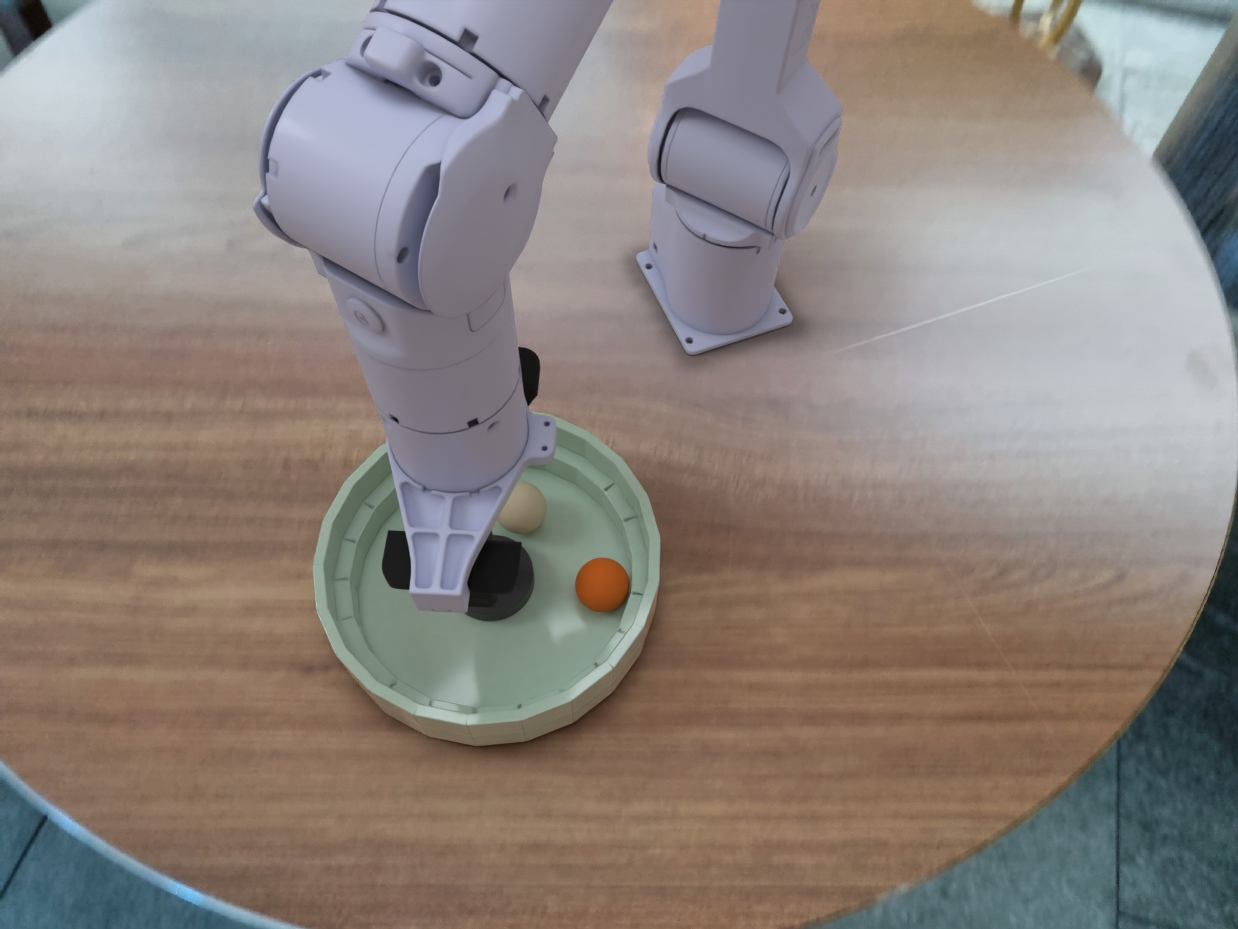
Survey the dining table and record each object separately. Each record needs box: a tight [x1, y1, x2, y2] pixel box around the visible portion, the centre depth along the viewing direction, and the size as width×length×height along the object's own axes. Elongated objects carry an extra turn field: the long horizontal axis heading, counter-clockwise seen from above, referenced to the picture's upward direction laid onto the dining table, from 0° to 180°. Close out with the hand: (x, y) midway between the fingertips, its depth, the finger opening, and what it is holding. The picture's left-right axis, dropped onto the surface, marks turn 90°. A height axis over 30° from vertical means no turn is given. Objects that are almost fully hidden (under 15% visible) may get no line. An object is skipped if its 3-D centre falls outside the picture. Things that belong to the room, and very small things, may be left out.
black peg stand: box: [465, 530, 534, 621], centre depth 49 cm, size 5×5×8 cm
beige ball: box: [497, 482, 547, 534], centre depth 53 cm, size 3×3×3 cm
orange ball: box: [575, 557, 630, 612], centre depth 51 cm, size 3×3×3 cm
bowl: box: [312, 410, 662, 747], centre depth 51 cm, size 18×18×5 cm
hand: (483, 528), depth 47 cm, fingers open, 7 cm apart
